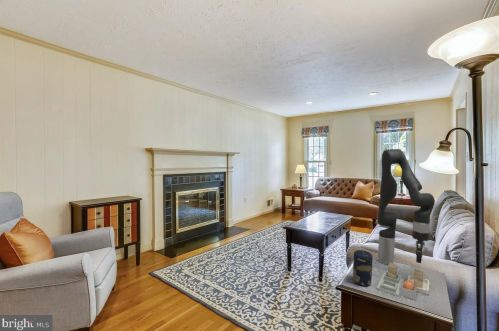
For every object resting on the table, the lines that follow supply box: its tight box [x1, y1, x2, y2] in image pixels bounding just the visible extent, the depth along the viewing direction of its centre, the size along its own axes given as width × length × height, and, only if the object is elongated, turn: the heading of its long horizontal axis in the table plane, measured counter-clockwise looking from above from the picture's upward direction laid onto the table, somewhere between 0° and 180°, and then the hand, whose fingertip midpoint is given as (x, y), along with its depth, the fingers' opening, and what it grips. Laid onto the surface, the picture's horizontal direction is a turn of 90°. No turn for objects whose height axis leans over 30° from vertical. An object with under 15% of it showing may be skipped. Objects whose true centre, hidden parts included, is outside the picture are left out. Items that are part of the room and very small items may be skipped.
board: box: [376, 271, 404, 297], centre depth 134 cm, size 19×10×3 cm, turn 142°
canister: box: [352, 249, 373, 287], centre depth 136 cm, size 10×10×18 cm
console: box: [399, 281, 418, 301], centre depth 125 cm, size 7×7×4 cm
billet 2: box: [413, 268, 424, 288], centre depth 133 cm, size 4×4×8 cm
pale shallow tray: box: [406, 274, 430, 297], centre depth 133 cm, size 14×10×2 cm
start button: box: [403, 280, 414, 290], centre depth 125 cm, size 4×4×6 cm
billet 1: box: [387, 263, 398, 279], centre depth 138 cm, size 4×4×8 cm
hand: (419, 259), depth 132 cm, fingers open, 8 cm apart
